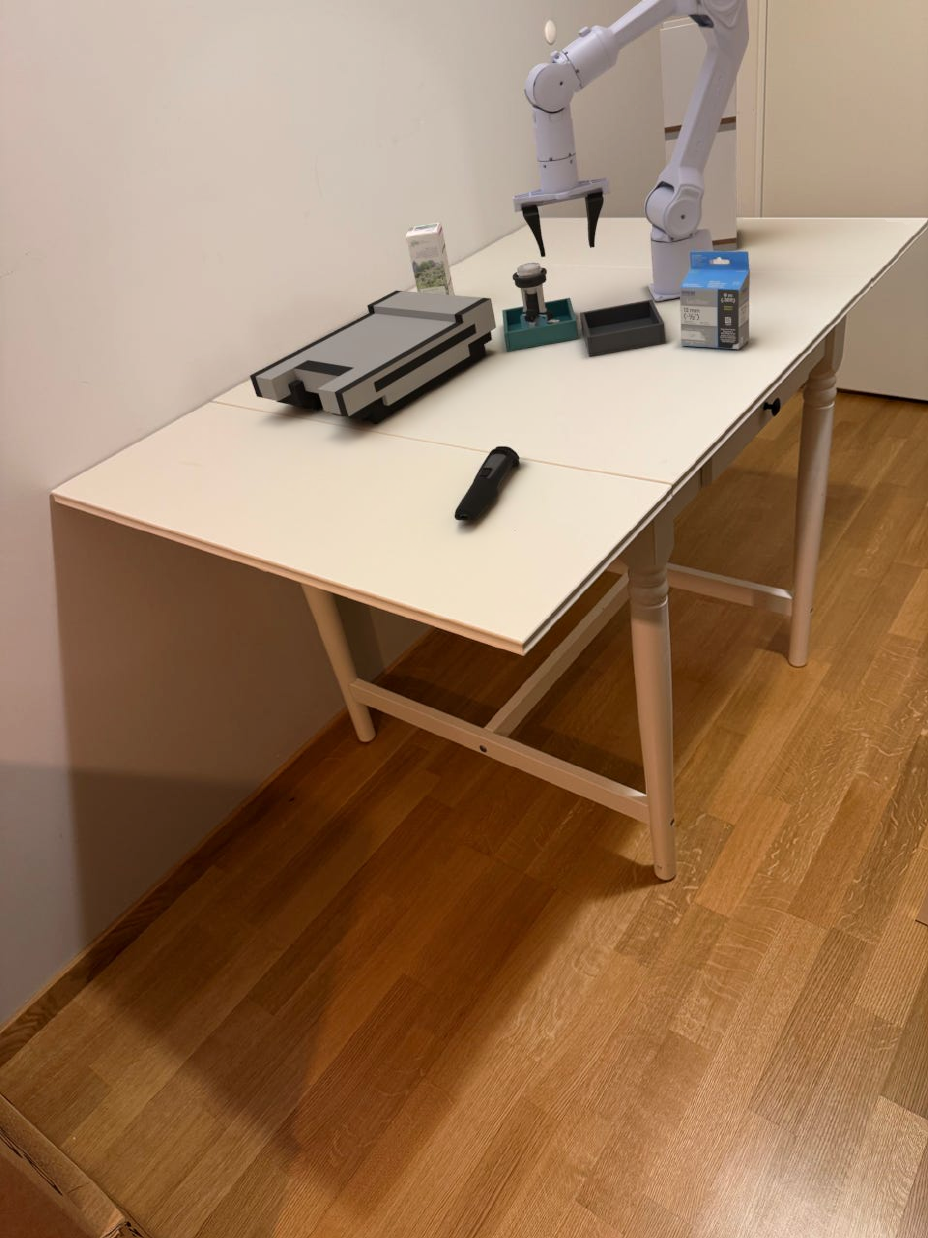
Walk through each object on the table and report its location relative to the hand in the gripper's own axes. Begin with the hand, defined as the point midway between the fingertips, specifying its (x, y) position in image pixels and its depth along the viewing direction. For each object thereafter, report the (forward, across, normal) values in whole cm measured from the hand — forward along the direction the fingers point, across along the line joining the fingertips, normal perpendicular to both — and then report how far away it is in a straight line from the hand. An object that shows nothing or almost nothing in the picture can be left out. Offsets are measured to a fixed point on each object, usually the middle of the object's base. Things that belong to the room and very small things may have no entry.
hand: (567, 250), depth 142 cm
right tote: (+10, +6, -13) cm, 18 cm away
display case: (+11, +26, +25) cm, 38 cm away
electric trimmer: (+11, -15, -55) cm, 58 cm away
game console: (+11, -31, -15) cm, 36 cm away
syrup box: (+11, -23, +15) cm, 29 cm away
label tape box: (+11, +18, -22) cm, 30 cm away
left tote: (+10, -6, -5) cm, 13 cm away
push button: (+10, -6, -5) cm, 13 cm away
